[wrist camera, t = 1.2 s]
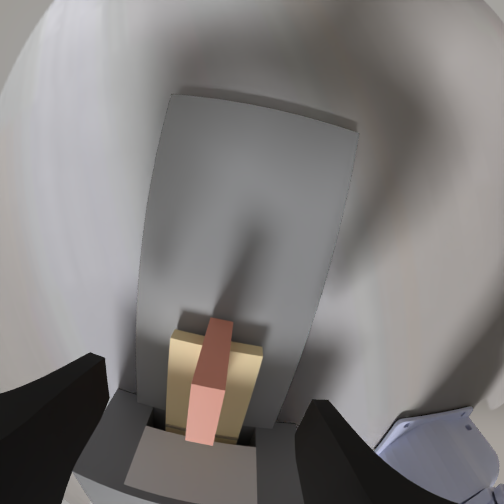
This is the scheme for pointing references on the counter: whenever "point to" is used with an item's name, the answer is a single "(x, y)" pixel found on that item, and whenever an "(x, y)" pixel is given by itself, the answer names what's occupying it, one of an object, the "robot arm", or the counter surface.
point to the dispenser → (224, 296)
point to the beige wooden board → (210, 384)
